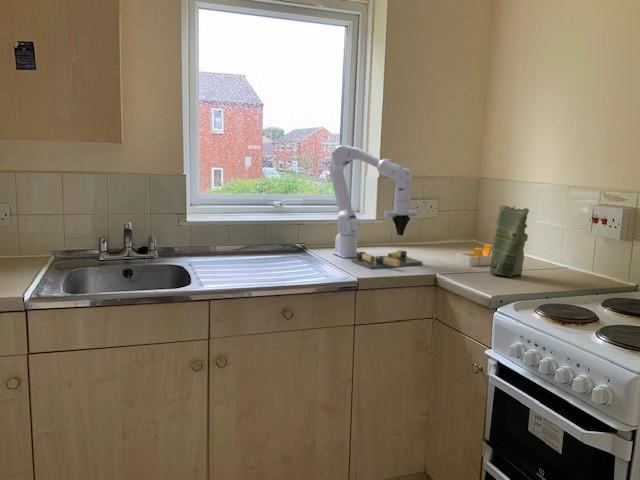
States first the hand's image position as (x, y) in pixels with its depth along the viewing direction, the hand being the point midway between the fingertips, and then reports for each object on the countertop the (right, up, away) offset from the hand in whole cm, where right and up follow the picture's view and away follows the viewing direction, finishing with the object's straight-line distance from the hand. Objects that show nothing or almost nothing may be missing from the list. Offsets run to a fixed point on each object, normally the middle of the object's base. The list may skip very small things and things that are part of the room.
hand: (400, 235), depth 221 cm
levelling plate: (-5, -11, -2) cm, 12 cm away
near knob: (-6, -11, -11) cm, 17 cm away
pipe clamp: (+32, -11, +4) cm, 34 cm away
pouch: (+36, -15, -17) cm, 42 cm away
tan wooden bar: (-14, -9, -5) cm, 17 cm away
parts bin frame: (+32, -11, +4) cm, 34 cm away
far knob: (-1, -9, +1) cm, 9 cm away
